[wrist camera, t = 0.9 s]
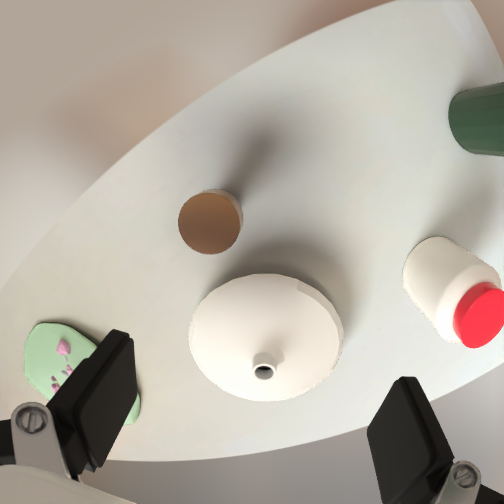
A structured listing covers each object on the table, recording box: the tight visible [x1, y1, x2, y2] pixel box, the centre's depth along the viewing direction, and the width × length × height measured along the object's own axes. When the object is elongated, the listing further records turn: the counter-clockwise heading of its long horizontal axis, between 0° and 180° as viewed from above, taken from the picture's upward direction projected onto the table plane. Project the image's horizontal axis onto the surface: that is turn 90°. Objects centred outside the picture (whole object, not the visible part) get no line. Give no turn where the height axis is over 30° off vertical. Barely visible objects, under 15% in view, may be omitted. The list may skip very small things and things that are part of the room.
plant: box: [24, 323, 140, 425], centre depth 34 cm, size 25×21×9 cm
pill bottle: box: [402, 237, 504, 348], centre depth 24 cm, size 8×8×11 cm
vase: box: [188, 274, 344, 401], centre depth 29 cm, size 16×16×7 cm
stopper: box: [178, 189, 243, 254], centre depth 25 cm, size 5×5×7 cm
